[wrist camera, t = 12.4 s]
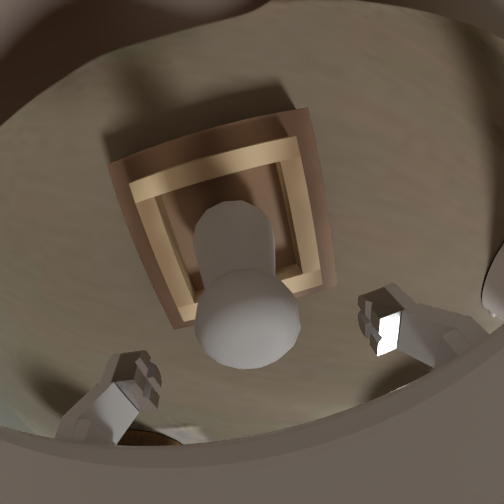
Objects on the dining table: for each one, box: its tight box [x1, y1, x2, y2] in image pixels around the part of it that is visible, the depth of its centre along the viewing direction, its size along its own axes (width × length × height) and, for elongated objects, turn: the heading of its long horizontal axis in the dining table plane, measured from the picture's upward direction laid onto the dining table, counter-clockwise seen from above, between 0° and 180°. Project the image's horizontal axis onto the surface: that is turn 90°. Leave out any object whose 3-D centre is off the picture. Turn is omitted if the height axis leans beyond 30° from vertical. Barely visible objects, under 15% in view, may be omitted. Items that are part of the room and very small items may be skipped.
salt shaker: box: [192, 200, 301, 369], centre depth 16 cm, size 6×6×13 cm
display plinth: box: [107, 108, 337, 329], centre depth 22 cm, size 16×16×5 cm
